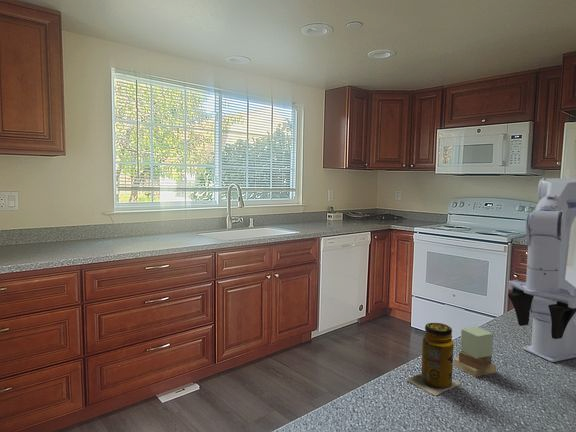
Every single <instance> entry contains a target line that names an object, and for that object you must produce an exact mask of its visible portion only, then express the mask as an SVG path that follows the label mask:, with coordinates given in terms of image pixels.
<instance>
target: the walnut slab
mask: <svg viewBox="0 0 576 432" xmlns="http://www.w3.org/2000/svg"><path fill="white" fill-rule="evenodd" d="M458 358H459V362H461V363H464V364H466V365H469V366H472V367H475V368H477V369H480V370H482V369H483V368H485V367H486V366H488V365H489V364H492V362H493V361H492V360H493V359H492V358H493V354H492V355H491V356H487V357H483V358H478V359H476V358H474V357H472V356H470V355H469V354H467V353H465V352H463V351H461V350H460V351H459V352H458Z"/></svg>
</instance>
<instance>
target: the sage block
mask: <svg viewBox="0 0 576 432" xmlns="http://www.w3.org/2000/svg"><path fill="white" fill-rule="evenodd" d="M460 333H461V335H460V337H461V338H460V352H461V351H463V352H465V353H467V354H469V355H470V356H472V357H474V358H476V359H478V358H483V357H487V356H491V355H492V356H493V344H494V342H493V341H494V333H493V332H491V331H488V330H486V329H484V328H481V327H478V326H472V327H467V328H462V329H461V331H460Z"/></svg>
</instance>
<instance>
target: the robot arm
mask: <svg viewBox="0 0 576 432" xmlns="http://www.w3.org/2000/svg"><path fill="white" fill-rule="evenodd" d="M538 182H539V183H538V186H537V198H538V203H537V204H536V206H535V209H534V210H532V211H531V212H527V215H526V217H525V218H526V219H525V234H526V240H525V241H526V246H527V257H526V259H527V260H526V277H525V278H526V279H525V282H524V281H519V280H516V279H513V280H508V287H507V288H508V290H510V291H511V292H508V294H507V297H508V298H509V300H510V302H511V303H512V306H513V308H514V311H515V315H516V319H517V324H518V326H520V327H524V326H528V325H529V323H530V315H531V318H532V327H531V328H532V330H531V345H526V346H523V347H522V350H524V351H526V352H529V353H531V354H534V355H536V356H537V357H539V358H542V359H545V360H547V361H549V362H551V363H555V362H560V361H565V360H569V359H570V360H571V359H574V358H576V322H575V321H574V320H576V287H575V286H574V285H573V284H572V283H570V282H569V281H568V280H567V279H566V274H567V273H566V272H567V268H568V267H567V265H568V256H569V248H570V239H571V232H572V231H571V230H572V229H571V228H572V226H573V223H574V222H575V221H574V220H575V218H576V178H573V177H570V178H566V177H565V178H564V177H563V178H561V177H560V178H558V177H555V178H554V177H553V178H552V177H551V178H546V177H542V178H541V179H539V181H538Z"/></svg>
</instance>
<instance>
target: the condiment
mask: <svg viewBox="0 0 576 432" xmlns="http://www.w3.org/2000/svg"><path fill="white" fill-rule="evenodd" d="M424 329H425V330H424V333H423V334H424V336H423V337H422V349H421V350H422V351H421V373H418V374H416V375H413V376H411V377H408V378H405V380H406V381H408V382H409V383H411V384H413V385H414V386H416V387H418V388H420V389H421V390H423V391H426V392H427V393H428V394H431V395H434V396H435V397H437V396H438V395H440V394H442V393H444V392H446V391H449V390H451V389H453V388H455V387H457V386H460V385H461V384H462V383H461V382H458V381H457V380H454V379H453V371H454V370H453V365H454V341H453V339H452V338H453V335H452V334H453V330H452V329H453V328H451V326H449V325H447V324H445V323H442V322H441V323H440V322H429V323H427V324H425V327H424Z"/></svg>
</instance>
